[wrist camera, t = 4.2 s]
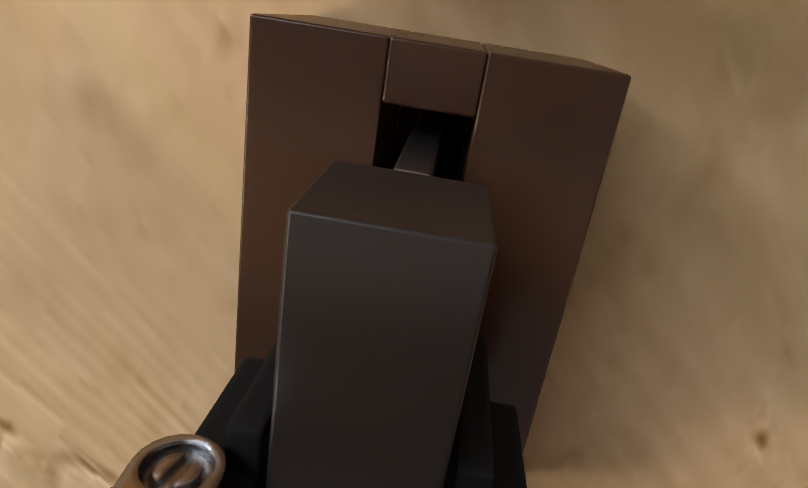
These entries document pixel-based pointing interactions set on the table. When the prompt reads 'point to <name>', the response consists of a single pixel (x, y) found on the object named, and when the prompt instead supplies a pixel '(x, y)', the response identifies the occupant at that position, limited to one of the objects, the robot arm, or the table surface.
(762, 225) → the table surface
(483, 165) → the knife block
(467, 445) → the robot arm
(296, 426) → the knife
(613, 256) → the table surface
